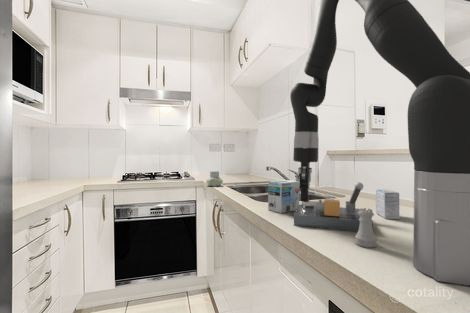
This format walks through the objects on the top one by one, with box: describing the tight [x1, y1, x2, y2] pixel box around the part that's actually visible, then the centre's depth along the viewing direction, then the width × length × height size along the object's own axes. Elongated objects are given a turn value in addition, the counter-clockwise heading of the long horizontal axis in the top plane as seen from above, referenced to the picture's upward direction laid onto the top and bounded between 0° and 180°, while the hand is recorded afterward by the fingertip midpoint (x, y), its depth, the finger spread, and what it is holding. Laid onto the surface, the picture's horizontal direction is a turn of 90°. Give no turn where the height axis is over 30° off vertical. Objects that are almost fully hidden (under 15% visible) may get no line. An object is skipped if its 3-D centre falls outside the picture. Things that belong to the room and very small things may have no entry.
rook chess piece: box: [354, 207, 378, 249], centre depth 55 cm, size 4×4×8 cm
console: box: [293, 198, 374, 233], centre depth 75 cm, size 17×20×6 cm
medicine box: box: [375, 189, 401, 220], centre depth 82 cm, size 8×4×9 cm, turn 168°
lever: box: [349, 181, 364, 205], centre depth 78 cm, size 3×3×9 cm
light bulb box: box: [267, 179, 300, 214], centre depth 91 cm, size 11×7×11 cm, turn 129°
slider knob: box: [323, 197, 341, 217], centre depth 71 cm, size 4×4×5 cm
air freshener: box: [205, 170, 223, 187], centre depth 164 cm, size 11×8×10 cm
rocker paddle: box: [303, 199, 325, 206], centre depth 77 cm, size 4×10×1 cm, turn 70°
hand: (304, 201), depth 78 cm, fingers closed
